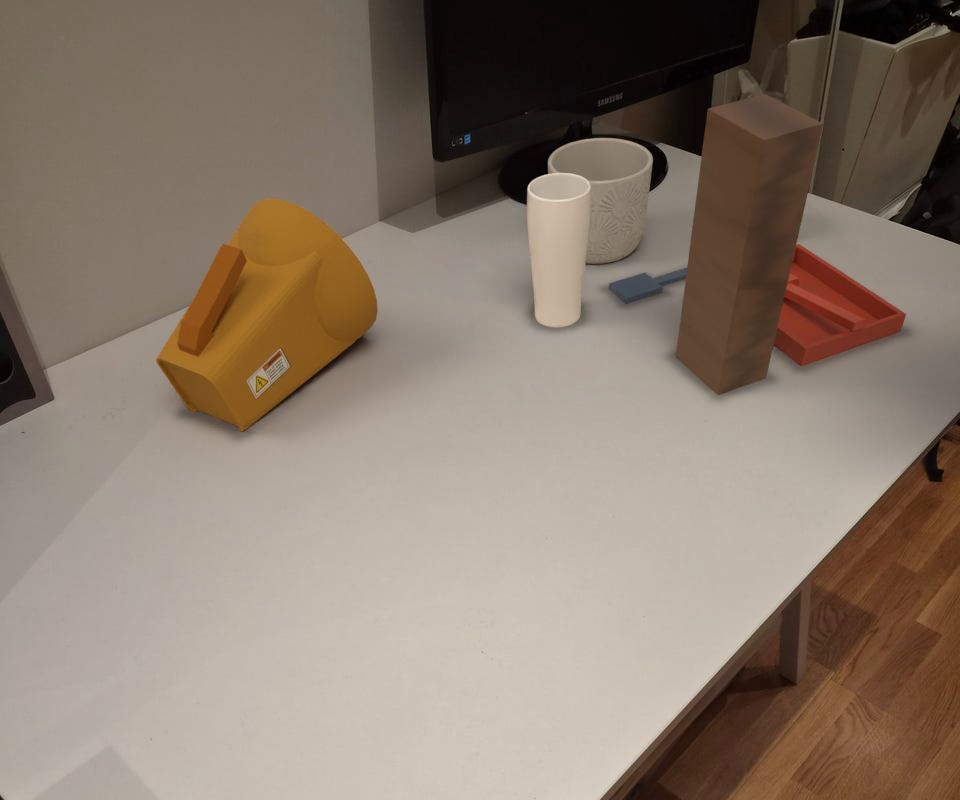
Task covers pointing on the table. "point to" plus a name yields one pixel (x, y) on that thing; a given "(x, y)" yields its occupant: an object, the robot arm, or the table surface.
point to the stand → (744, 237)
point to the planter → (610, 192)
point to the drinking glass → (558, 245)
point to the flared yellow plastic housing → (268, 315)
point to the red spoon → (822, 306)
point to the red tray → (819, 336)
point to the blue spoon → (644, 285)
